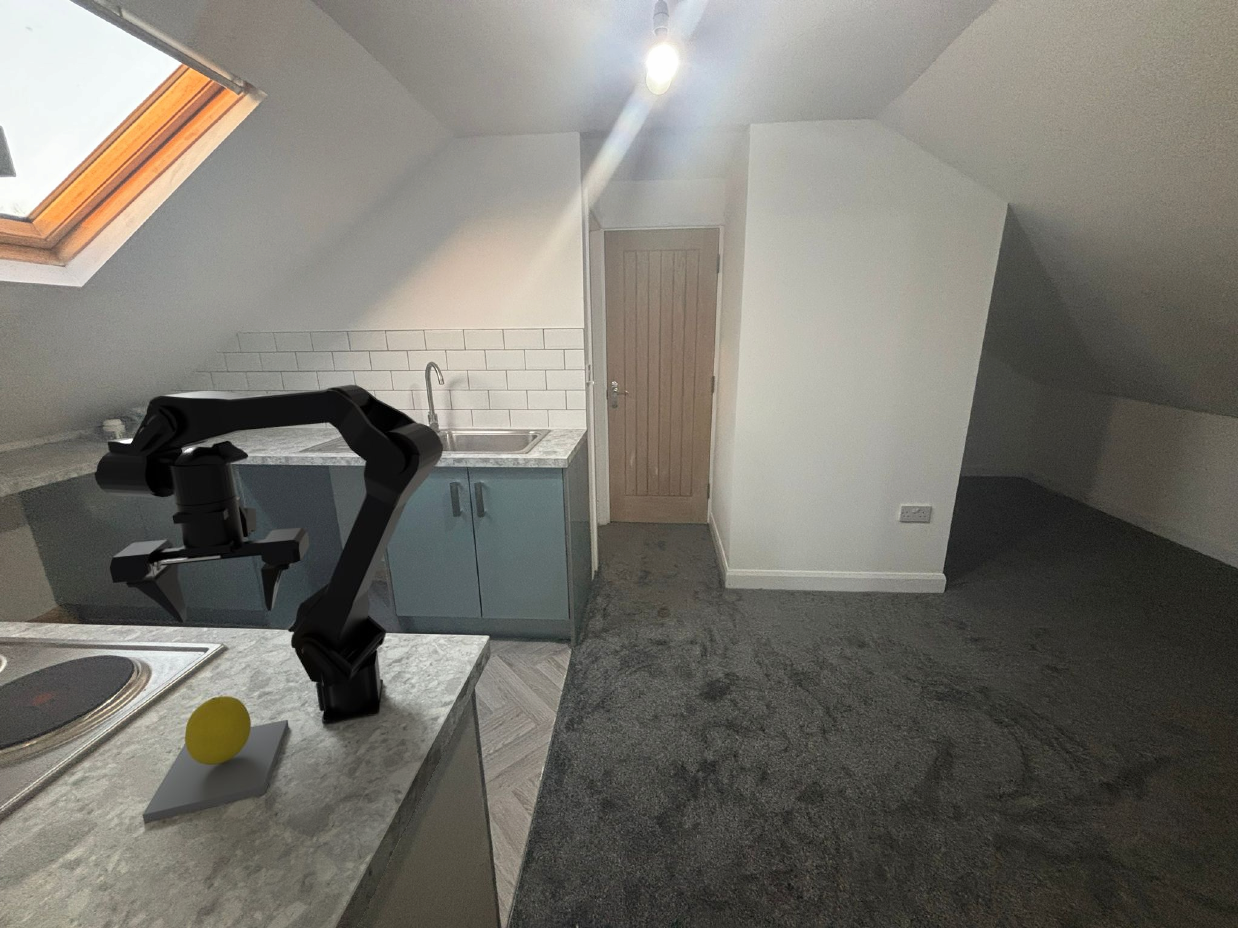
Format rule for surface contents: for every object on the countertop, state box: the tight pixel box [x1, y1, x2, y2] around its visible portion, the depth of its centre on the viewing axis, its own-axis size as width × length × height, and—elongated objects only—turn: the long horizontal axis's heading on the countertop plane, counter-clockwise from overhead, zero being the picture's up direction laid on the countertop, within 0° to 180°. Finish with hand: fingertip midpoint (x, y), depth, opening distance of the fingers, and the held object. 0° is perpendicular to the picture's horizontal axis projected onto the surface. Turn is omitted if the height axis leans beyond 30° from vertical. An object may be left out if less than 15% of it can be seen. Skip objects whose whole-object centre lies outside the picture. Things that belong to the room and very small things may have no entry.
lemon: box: [184, 695, 252, 765], centre depth 54 cm, size 6×6×8 cm
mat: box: [142, 719, 289, 824], centre depth 55 cm, size 10×10×1 cm
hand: (228, 615), depth 64 cm, fingers open, 9 cm apart
